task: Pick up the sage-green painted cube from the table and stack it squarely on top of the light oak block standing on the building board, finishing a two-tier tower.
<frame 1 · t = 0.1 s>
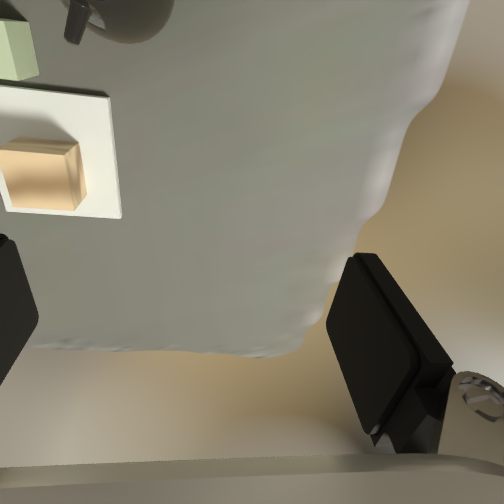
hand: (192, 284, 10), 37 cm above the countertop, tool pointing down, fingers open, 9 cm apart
sage cube: (9, 46, 36), on the countertop
building board: (56, 156, 43), on the countertop
oak block: (54, 167, 42), point 1 cm above the countertop, touching building board
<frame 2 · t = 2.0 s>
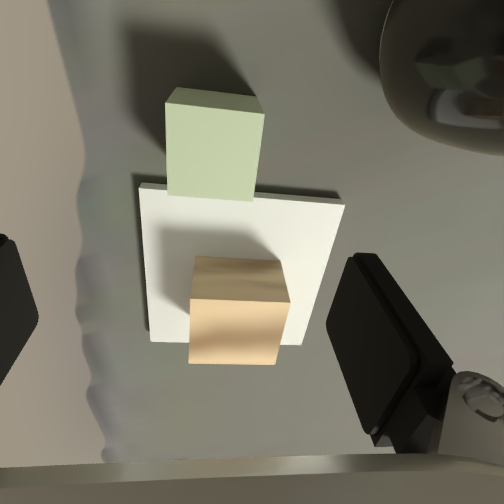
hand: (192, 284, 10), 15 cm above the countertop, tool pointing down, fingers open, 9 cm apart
sage cube: (214, 132, 22), on the countertop
building board: (235, 274, 29), on the countertop
pump dispenser: (437, 36, 20), on the countertop
oak block: (234, 290, 29), point 1 cm above the countertop, touching building board
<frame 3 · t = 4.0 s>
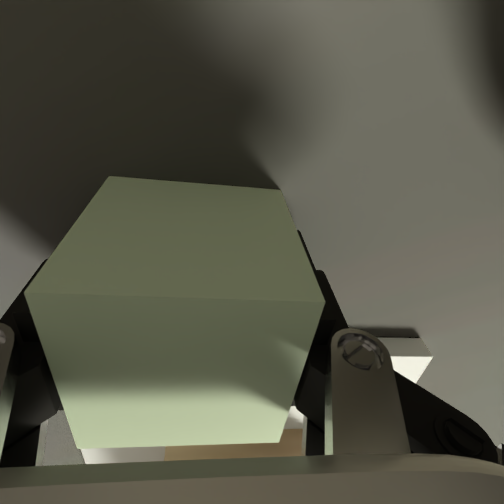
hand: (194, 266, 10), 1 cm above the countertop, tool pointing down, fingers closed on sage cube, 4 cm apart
sage cube: (195, 253, 11), on the countertop, touching gripper
building board: (236, 435, 18), on the countertop
oak block: (235, 464, 18), point 1 cm above the countertop, touching building board
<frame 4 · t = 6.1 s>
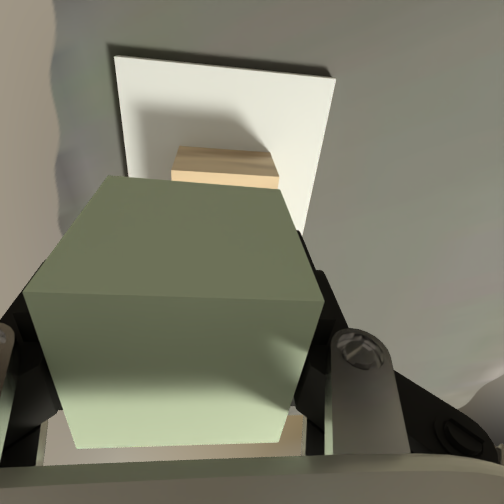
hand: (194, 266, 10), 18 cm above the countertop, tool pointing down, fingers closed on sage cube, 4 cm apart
sage cube: (195, 252, 11), point 17 cm above the countertop, touching gripper
building board: (223, 175, 28), on the countertop
oak block: (223, 191, 27), point 1 cm above the countertop, touching building board
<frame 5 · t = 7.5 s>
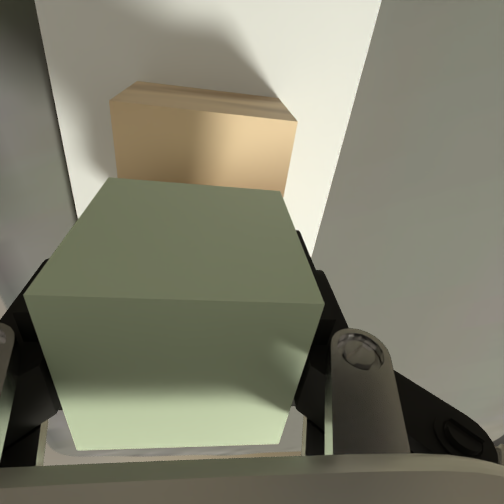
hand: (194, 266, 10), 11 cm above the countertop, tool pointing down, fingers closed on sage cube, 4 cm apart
sage cube: (195, 254, 11), point 10 cm above the countertop, touching gripper
building board: (208, 135, 19), on the countertop
oak block: (206, 158, 18), point 1 cm above the countertop, touching building board
when the fingers open (7 cm above the countertop, at t = 8.7 s): sage cube stays where it is, resting on oak block.
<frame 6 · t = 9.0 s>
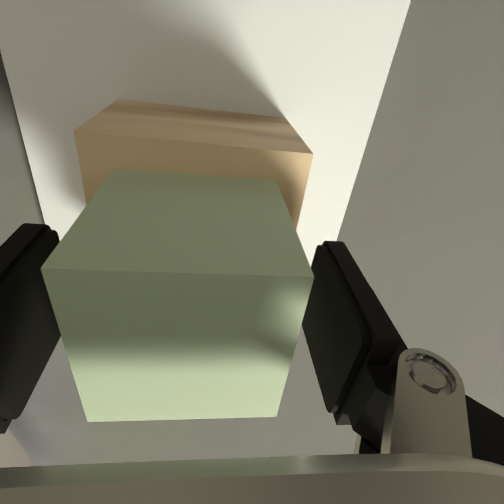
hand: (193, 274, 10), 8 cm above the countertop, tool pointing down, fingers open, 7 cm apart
sage cube: (196, 242, 12), point 6 cm above the countertop, touching oak block
building board: (202, 159, 16), on the countertop
oak block: (201, 186, 16), point 1 cm above the countertop, touching building board, sage cube
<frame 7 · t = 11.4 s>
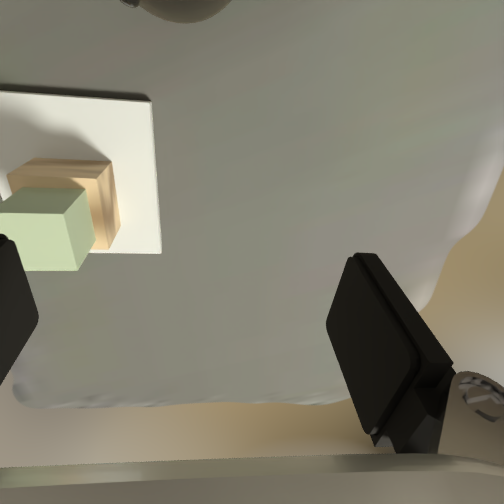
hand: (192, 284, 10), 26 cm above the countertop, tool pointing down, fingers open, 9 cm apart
sage cube: (61, 215, 29), point 6 cm above the countertop, touching oak block
building board: (81, 181, 34), on the countertop
oak block: (80, 194, 33), point 1 cm above the countertop, touching building board, sage cube
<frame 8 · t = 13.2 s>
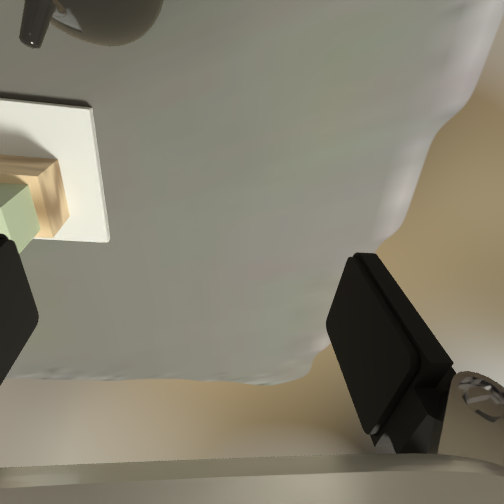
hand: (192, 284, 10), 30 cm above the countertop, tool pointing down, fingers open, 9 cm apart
sage cube: (8, 206, 33), point 6 cm above the countertop, touching oak block
building board: (33, 175, 37), on the countertop
oak block: (31, 186, 37), point 1 cm above the countertop, touching building board, sage cube
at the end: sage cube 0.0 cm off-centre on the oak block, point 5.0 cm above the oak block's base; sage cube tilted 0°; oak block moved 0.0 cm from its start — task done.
